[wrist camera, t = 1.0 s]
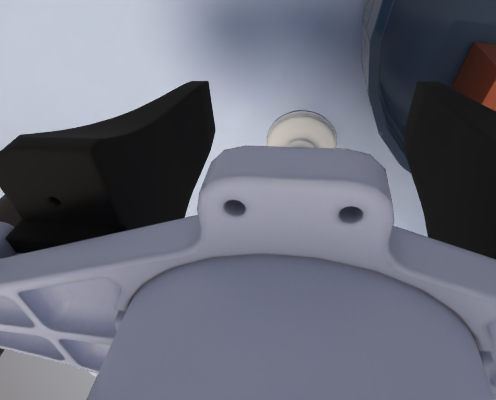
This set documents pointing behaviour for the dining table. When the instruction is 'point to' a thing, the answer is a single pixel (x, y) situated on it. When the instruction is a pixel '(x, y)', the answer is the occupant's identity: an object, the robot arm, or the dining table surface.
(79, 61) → the dining table surface
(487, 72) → the terracotta block
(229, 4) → the dining table surface
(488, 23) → the bowl
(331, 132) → the chess piece
